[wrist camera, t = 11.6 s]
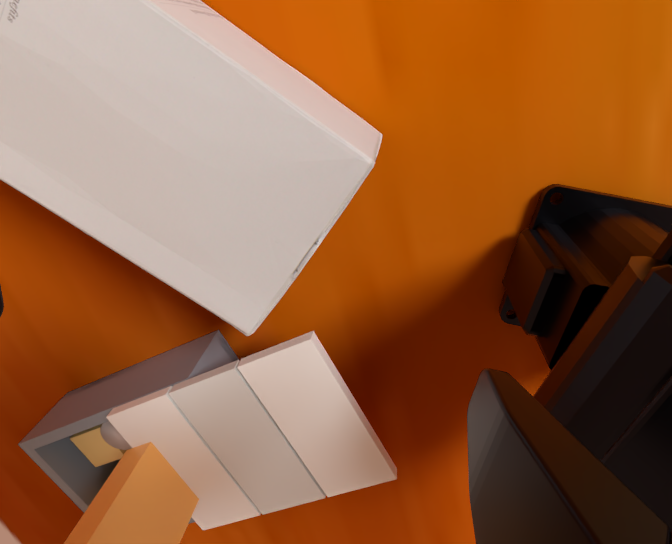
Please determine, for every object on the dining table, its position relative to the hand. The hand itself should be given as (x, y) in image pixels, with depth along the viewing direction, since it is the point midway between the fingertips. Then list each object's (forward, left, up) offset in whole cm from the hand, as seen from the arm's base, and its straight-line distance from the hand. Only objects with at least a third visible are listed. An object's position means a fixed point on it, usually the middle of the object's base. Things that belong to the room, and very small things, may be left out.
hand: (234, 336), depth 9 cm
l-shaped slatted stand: (+1, +12, -9) cm, 15 cm away
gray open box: (+6, +16, -13) cm, 21 cm away
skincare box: (+13, -5, -10) cm, 17 cm away
